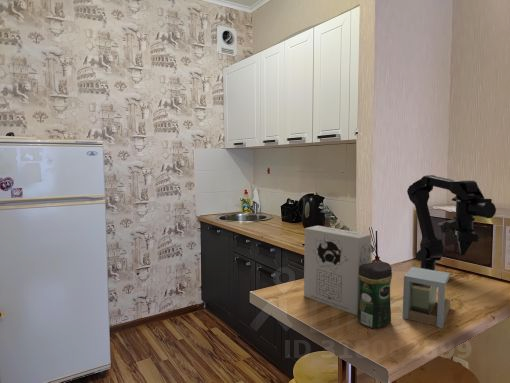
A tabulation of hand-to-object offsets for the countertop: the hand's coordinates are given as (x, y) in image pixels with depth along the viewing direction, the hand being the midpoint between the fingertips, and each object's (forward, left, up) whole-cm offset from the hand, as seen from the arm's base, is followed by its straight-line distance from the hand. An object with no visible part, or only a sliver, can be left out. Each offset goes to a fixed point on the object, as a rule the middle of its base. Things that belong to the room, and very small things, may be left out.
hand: (462, 254), depth 131 cm
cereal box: (+30, -43, -13) cm, 54 cm away
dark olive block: (+25, -15, -13) cm, 32 cm away
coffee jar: (+41, -30, -13) cm, 52 cm away
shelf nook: (+28, -14, -13) cm, 34 cm away
